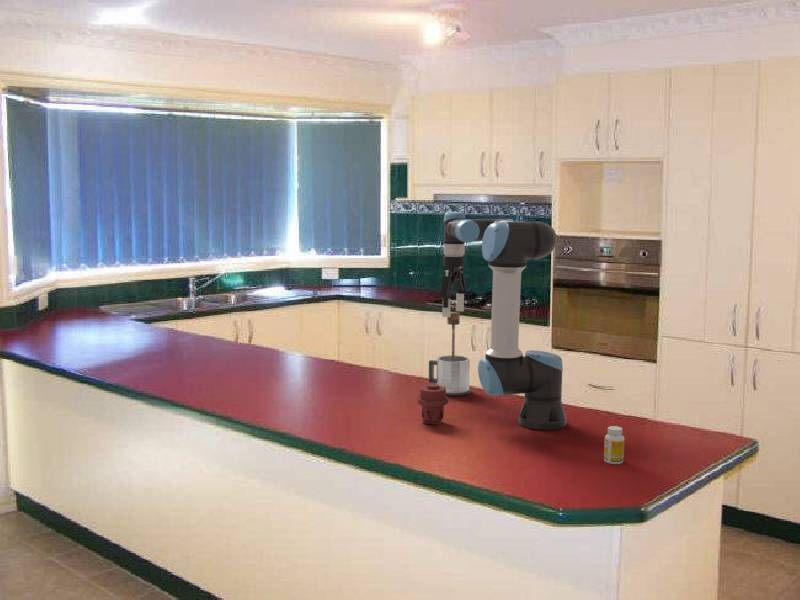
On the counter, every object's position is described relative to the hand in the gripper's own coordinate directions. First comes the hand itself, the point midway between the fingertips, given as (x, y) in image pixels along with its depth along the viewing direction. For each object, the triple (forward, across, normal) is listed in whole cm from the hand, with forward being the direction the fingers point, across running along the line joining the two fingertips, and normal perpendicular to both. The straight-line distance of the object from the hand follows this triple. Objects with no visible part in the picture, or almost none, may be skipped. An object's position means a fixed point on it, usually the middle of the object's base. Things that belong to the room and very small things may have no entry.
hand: (453, 314), depth 323 cm
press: (+29, 0, -1) cm, 29 cm away
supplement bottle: (+28, +56, +70) cm, 94 cm away
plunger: (+20, 0, 0) cm, 20 cm away
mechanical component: (+29, +41, +9) cm, 51 cm away
